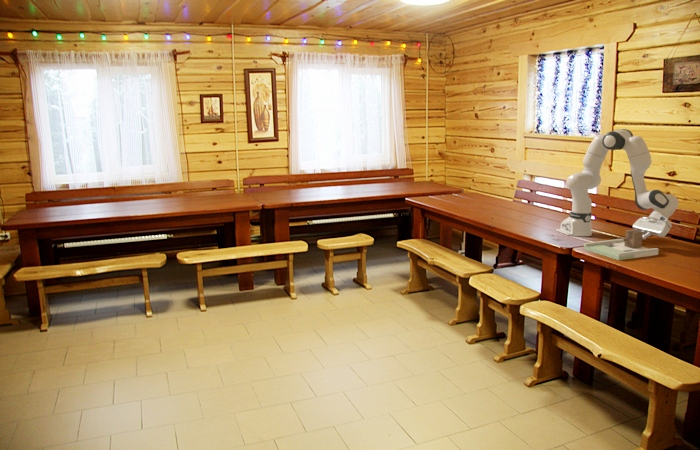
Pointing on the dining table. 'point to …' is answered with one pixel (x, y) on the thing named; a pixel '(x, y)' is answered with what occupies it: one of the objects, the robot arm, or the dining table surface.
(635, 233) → the walnut block
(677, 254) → the dining table surface
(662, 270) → the dining table surface
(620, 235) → the dining table surface
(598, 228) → the dining table surface
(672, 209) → the robot arm
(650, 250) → the board
